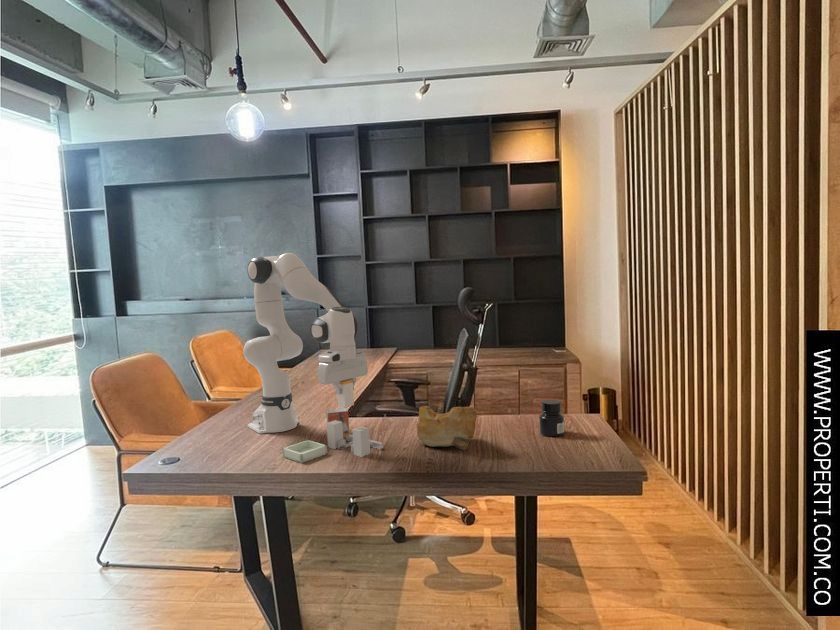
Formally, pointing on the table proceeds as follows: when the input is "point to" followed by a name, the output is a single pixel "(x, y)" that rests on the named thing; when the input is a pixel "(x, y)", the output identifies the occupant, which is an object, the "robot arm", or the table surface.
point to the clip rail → (350, 438)
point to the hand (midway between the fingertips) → (345, 392)
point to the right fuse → (361, 441)
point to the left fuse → (334, 433)
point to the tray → (304, 451)
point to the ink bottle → (551, 419)
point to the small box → (339, 418)
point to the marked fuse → (346, 393)
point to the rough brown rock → (446, 427)
